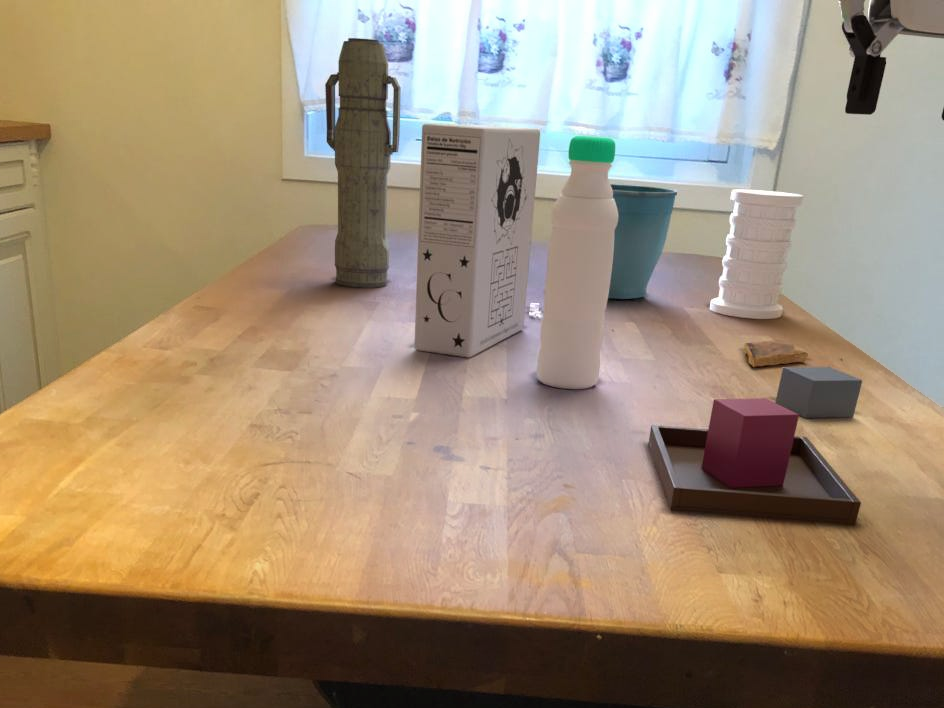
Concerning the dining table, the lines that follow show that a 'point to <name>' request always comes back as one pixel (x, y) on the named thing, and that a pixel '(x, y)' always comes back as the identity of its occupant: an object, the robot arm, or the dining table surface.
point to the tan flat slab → (773, 353)
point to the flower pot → (638, 237)
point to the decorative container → (756, 254)
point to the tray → (800, 497)
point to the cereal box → (473, 235)
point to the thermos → (362, 160)
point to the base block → (818, 392)
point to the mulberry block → (749, 442)
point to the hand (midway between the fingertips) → (908, 117)
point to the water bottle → (579, 268)
